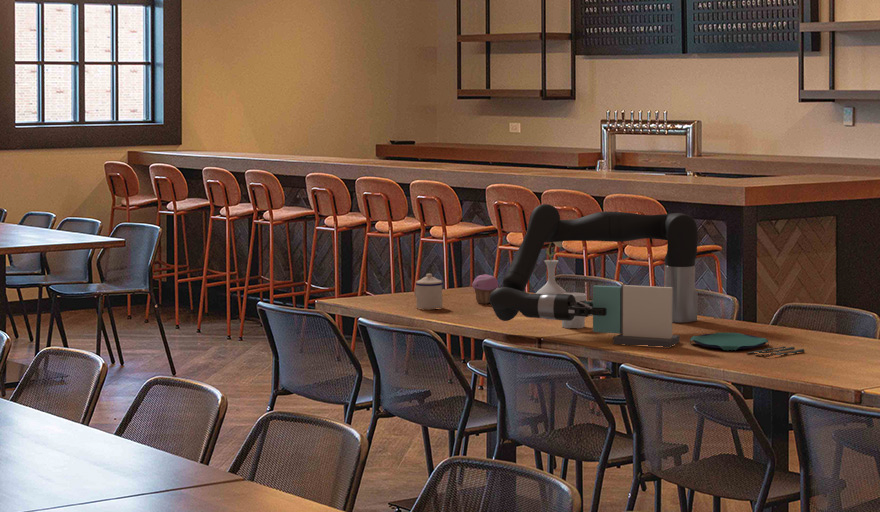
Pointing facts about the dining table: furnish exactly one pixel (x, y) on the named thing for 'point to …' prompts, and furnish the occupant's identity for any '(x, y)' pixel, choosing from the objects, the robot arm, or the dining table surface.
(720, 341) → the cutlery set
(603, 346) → the dining table surface
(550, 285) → the flower in vase
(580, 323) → the white cup
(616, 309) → the teal flat panel
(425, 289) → the teacup with lid
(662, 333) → the ticket stand
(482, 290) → the cupcake
